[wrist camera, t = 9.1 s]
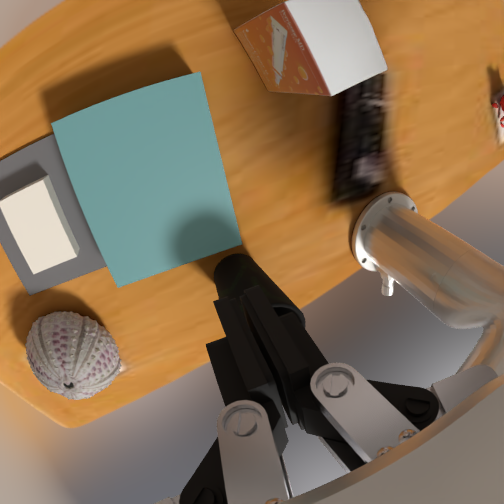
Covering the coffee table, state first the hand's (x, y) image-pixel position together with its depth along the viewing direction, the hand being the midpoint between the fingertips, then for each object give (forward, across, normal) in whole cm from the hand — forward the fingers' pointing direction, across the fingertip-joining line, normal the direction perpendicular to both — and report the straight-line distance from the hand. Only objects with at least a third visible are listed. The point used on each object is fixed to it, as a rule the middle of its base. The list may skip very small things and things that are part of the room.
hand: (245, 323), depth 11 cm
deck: (+25, +3, 0) cm, 25 cm away
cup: (+25, -3, +15) cm, 30 cm away
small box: (+25, -13, -10) cm, 30 cm away
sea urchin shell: (+25, +21, +17) cm, 37 cm away
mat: (+25, +16, 0) cm, 30 cm away
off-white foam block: (+23, +16, 0) cm, 28 cm away
